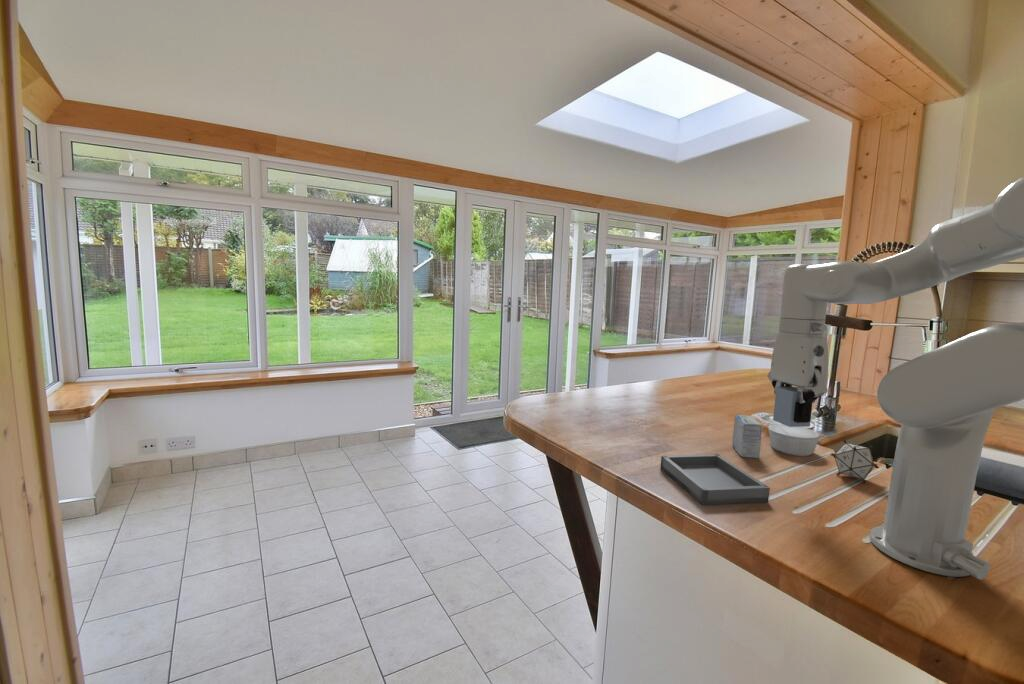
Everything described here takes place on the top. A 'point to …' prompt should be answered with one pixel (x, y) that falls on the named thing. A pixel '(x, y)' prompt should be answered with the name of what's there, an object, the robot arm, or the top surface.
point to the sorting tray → (714, 479)
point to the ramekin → (793, 439)
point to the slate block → (787, 406)
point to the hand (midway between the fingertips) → (791, 417)
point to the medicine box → (747, 436)
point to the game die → (854, 460)
